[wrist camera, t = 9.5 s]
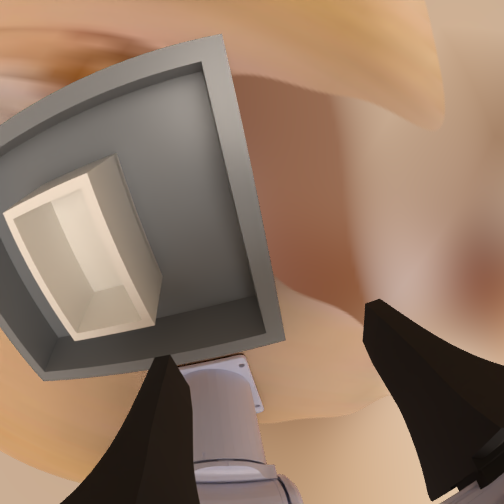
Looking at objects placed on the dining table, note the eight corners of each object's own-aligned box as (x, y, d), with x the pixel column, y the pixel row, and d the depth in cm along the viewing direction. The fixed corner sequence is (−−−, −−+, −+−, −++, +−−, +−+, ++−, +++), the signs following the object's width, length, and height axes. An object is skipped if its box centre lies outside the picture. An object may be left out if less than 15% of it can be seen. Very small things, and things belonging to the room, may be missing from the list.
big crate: (270, 295, 21) (285, 340, 17) (59, 341, 20) (43, 381, 16) (216, 52, 13) (222, 33, 9) (-30, 163, 12) (-70, 183, 8)
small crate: (162, 276, 18) (154, 325, 14) (93, 294, 18) (74, 341, 14) (116, 152, 14) (86, 172, 10) (42, 184, 14) (2, 212, 10)
